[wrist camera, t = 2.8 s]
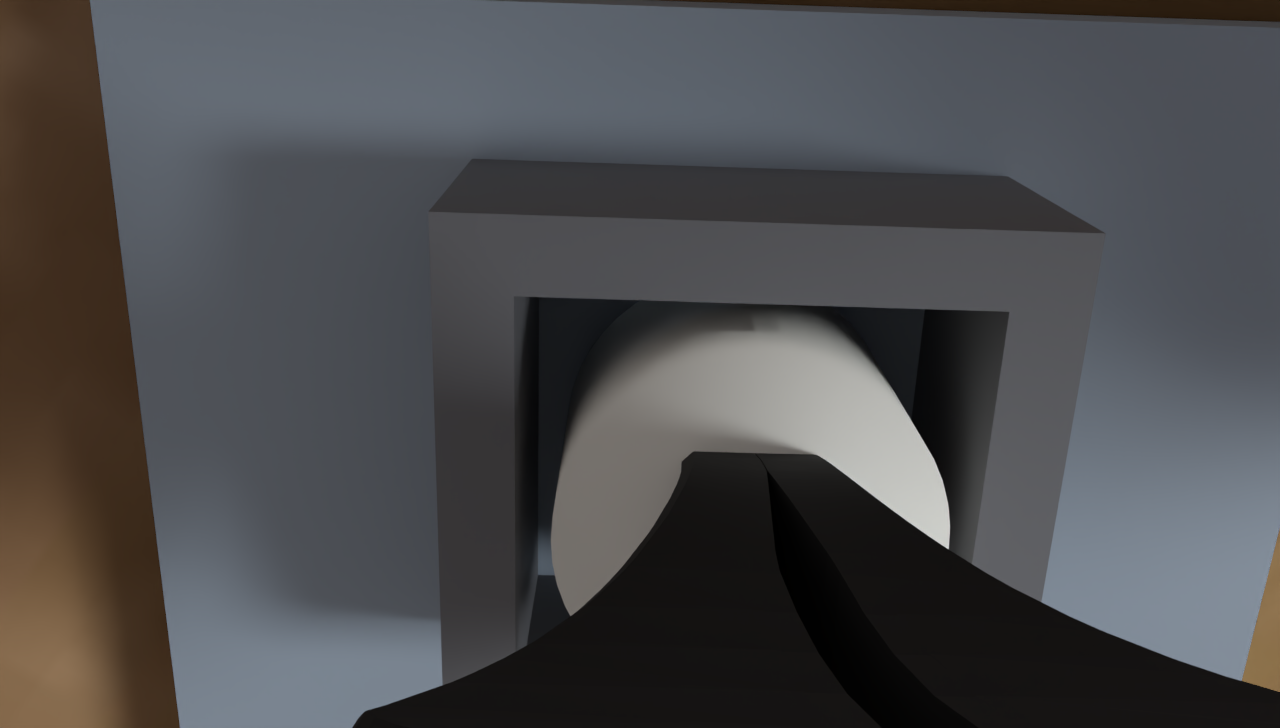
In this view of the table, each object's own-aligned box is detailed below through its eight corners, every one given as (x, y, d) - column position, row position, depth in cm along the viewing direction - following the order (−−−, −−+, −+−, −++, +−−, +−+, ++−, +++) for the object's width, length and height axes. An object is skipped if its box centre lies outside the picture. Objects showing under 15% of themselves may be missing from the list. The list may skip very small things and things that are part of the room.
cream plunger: (904, 279, 14) (974, 362, 11) (870, 573, 15) (925, 717, 12) (570, 269, 14) (552, 351, 11) (566, 564, 15) (550, 707, 12)
